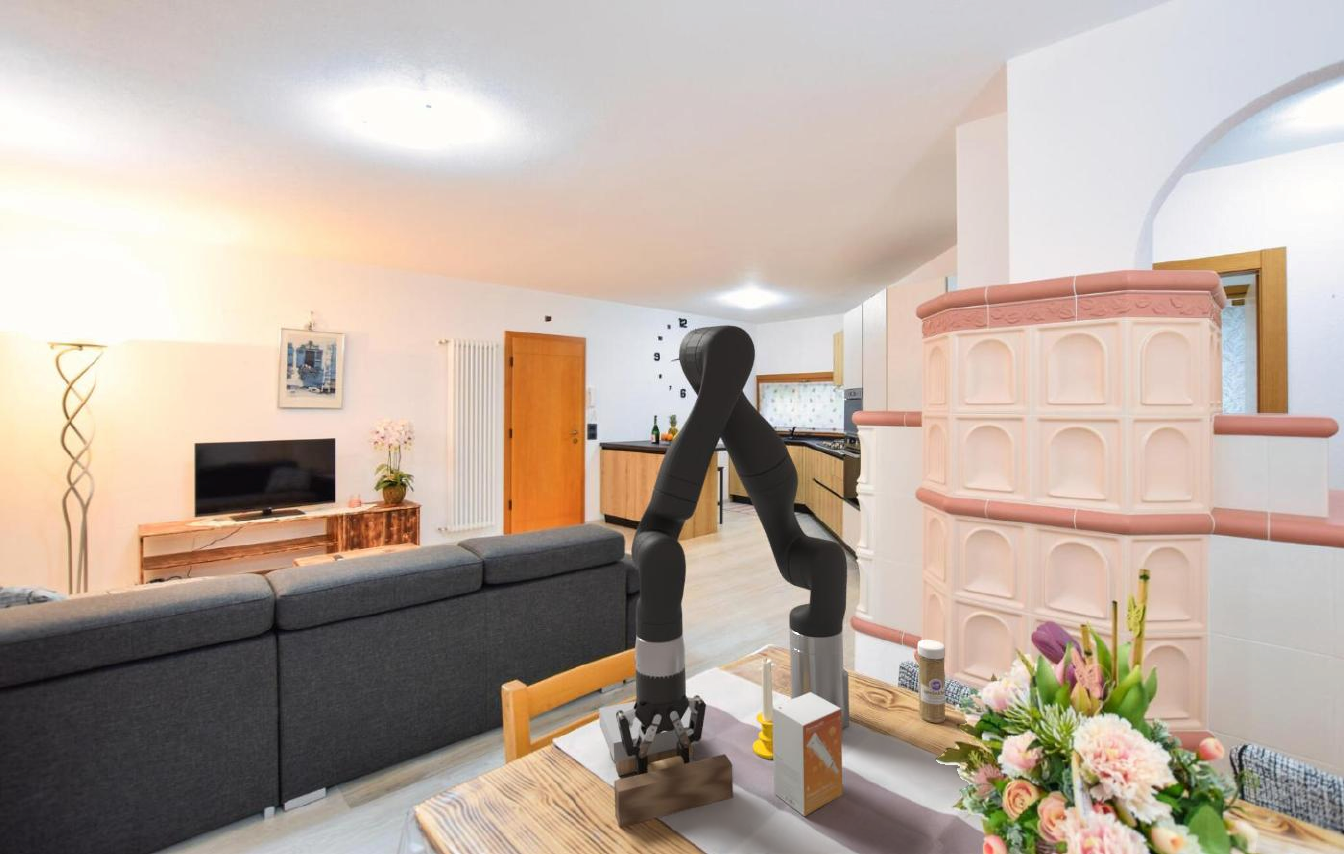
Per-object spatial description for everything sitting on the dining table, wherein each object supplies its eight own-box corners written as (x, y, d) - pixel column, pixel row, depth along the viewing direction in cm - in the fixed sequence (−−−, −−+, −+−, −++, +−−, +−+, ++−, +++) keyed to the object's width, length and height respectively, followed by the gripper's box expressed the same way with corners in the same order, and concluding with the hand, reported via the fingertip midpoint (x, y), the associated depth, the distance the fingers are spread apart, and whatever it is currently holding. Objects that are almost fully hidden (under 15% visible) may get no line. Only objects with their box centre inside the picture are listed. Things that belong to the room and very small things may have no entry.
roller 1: (685, 750, 96) (684, 730, 96) (693, 762, 93) (692, 741, 93) (615, 767, 92) (614, 745, 92) (620, 780, 89) (619, 758, 89)
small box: (804, 818, 80) (802, 725, 79) (772, 793, 85) (770, 706, 85) (844, 795, 84) (842, 707, 84) (811, 773, 90) (809, 690, 89)
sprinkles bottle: (928, 725, 102) (927, 650, 101) (913, 712, 106) (912, 640, 106) (951, 721, 103) (950, 647, 102) (935, 709, 107) (934, 637, 107)
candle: (759, 761, 93) (757, 665, 92) (748, 743, 98) (746, 652, 98) (789, 756, 94) (787, 662, 94) (777, 738, 99) (775, 649, 99)
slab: (677, 709, 103) (676, 692, 103) (699, 742, 93) (699, 724, 92) (599, 725, 98) (598, 708, 98) (614, 762, 88) (613, 743, 88)
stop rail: (725, 786, 87) (724, 753, 87) (732, 796, 85) (731, 763, 84) (615, 815, 82) (614, 780, 81) (619, 827, 79) (618, 791, 79)
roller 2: (677, 760, 90) (681, 752, 88) (682, 781, 88) (687, 773, 86) (643, 768, 88) (646, 760, 86) (648, 789, 86) (651, 782, 84)
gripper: (619, 682, 81) (623, 800, 82) (713, 665, 86) (716, 776, 87) (608, 660, 89) (611, 769, 89) (695, 646, 93) (698, 749, 94)
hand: (663, 772), depth 88 cm, fingers closed on roller 2, 5 cm apart
